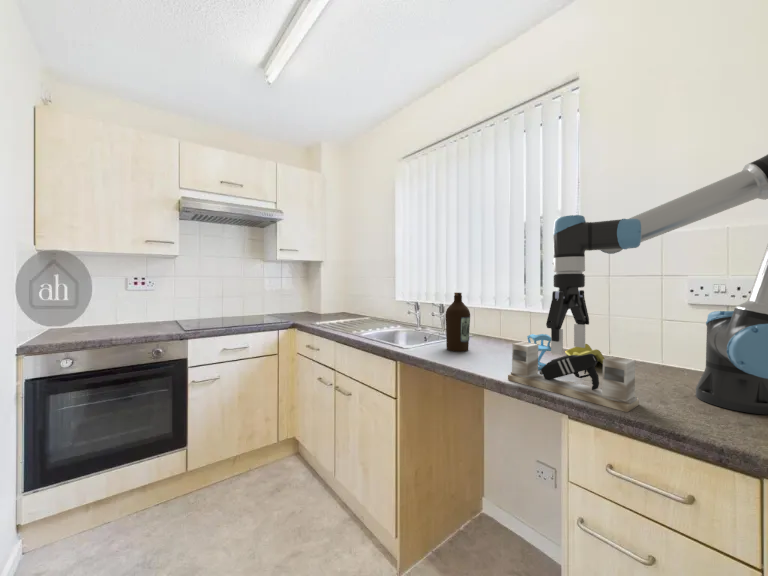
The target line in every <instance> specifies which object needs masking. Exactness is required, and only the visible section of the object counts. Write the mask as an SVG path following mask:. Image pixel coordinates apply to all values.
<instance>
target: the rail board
mask: <svg viewBox="0 0 768 576" xmlns="http://www.w3.org/2000/svg"><path fill="white" fill-rule="evenodd" d="M538 345H539V343H537V344H534V342H533V343H532V342H531V343H528V342H527V341H521V342H520V341H519V342H516V343H512V349H511V350H512V353H511V357H512V359H511V372H510V374H507V380H508V381H511V382H514V383H519V384H522V385H525V386H528V387H529V386H530V387H532V388H537V389H540V390H544V391H548V392H551V393H554V394H559V395H563V396H566V397H570V398H574V399H577V400H580V401H583V402H584V401H585V402H588V403H592V404H596V405H599V406H604V407H607V408H610V409H614V410H617V411H622V412H625V413H629V412H630V411H632V410H634V409H635V408H636V407H638V406H639V405H640V398H638V397H636V396H635V395H636V394H635V393H636V391H635V389H636V388H635V387H636V384H635V383H636V359H629V358H625V357H619V356H610V357H607V358H605V359H603V364H602V382H601V383H602V384H601V388H599V387H598V388H597V389H594V390H592V386H590V385H586V384H582V383H579V382H578V383H577V382H573V381H569V380H564V379H559V378H554V379H550V380H546V379H545V378H544V375H540V373H539V370H538V367H539V365H538V357H539V351H538Z"/></svg>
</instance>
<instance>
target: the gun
mask: <svg viewBox="0 0 768 576" xmlns="http://www.w3.org/2000/svg"><path fill="white" fill-rule="evenodd" d="M598 363H599V362H598V361H597V359H596V357H595V355H593V354H586V355H582V356H581V355H570V356H569V355H566V354H565V355H564V356H559V357H557V358H554V359H551V360H550V361H548V362H547V363H545V364H546V365H545V366H541V367H542V369H541V370H540V371H538V374H540V375H544V378H545V379H546V380H550V379H554V378H557V379H559V378H561V377H565V376H569V375H572V374H573V375H574V376H575V377H576V378H578V379H583V378H587V377H590V380H591V384H592V386H591V387H592V390H594V389H597V388H599V385H600V379H599V378H600V377H599V375H598V372H597V370H596V366H597V364H598ZM583 371H584V372H583ZM580 372H583V373H584V375H580V374H579V373H580Z"/></svg>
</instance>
